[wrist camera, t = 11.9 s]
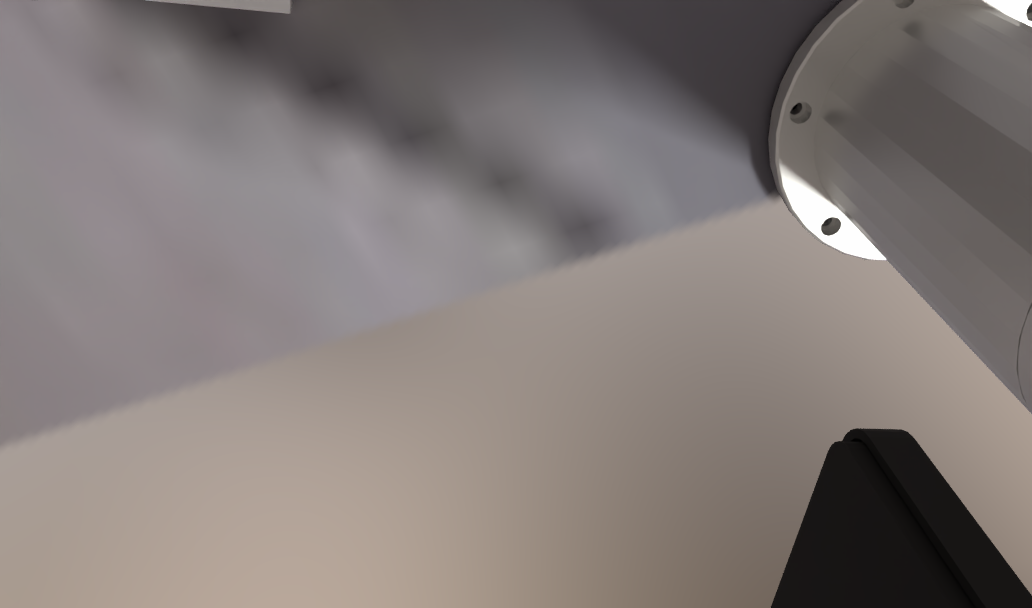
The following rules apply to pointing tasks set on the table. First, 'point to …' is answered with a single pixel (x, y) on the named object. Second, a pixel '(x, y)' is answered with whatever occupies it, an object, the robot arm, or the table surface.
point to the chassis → (241, 4)
